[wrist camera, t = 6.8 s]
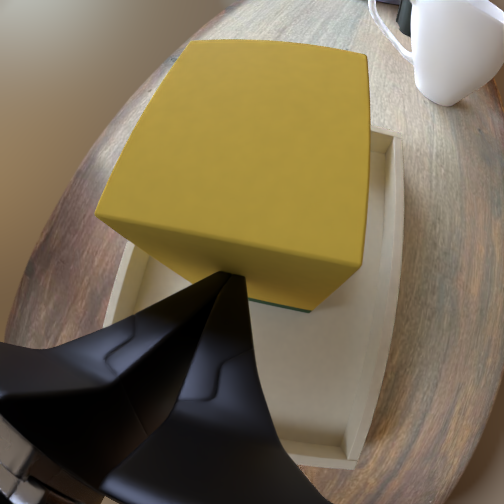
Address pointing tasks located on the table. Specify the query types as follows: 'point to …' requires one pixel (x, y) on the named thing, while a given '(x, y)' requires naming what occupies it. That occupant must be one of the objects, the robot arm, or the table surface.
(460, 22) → the mug
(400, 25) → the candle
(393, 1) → the bowl
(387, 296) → the tray
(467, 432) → the table surface
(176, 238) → the block
